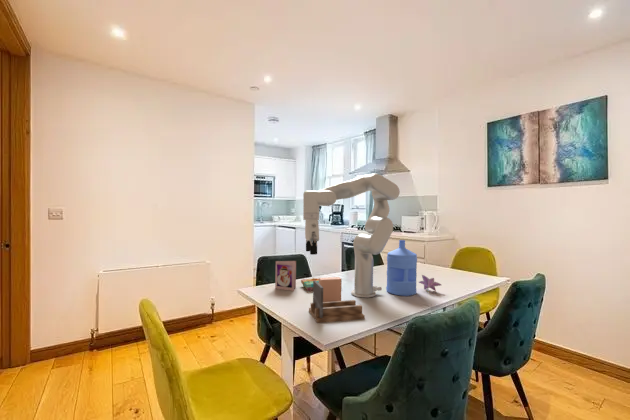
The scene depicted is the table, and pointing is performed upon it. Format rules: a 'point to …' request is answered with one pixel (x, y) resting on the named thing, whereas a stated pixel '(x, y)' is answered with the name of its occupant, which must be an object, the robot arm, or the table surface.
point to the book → (331, 288)
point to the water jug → (401, 271)
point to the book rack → (333, 308)
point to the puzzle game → (309, 283)
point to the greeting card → (285, 275)
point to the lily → (429, 283)
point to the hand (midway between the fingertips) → (311, 252)
